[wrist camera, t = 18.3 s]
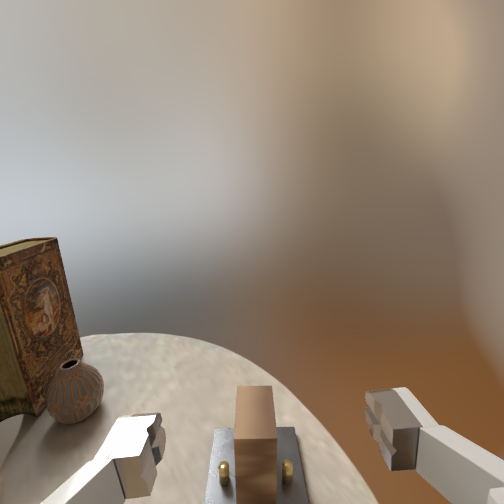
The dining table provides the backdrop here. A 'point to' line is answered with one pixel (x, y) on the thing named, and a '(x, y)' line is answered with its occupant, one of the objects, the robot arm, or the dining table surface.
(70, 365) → the vase
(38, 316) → the book
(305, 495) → the pin plate
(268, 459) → the board block
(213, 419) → the dining table surface
